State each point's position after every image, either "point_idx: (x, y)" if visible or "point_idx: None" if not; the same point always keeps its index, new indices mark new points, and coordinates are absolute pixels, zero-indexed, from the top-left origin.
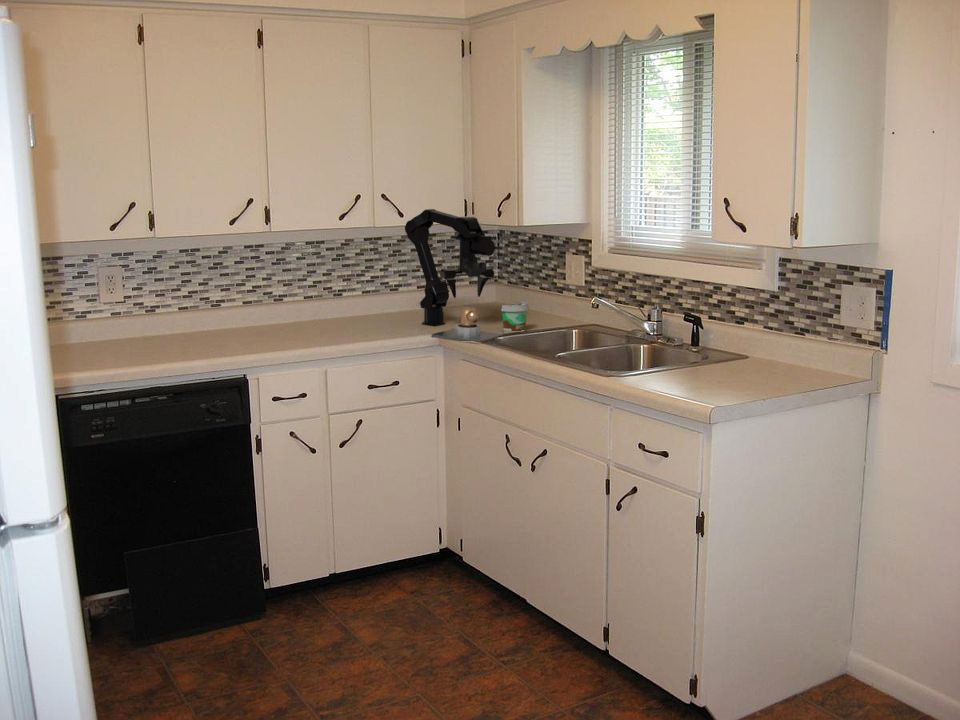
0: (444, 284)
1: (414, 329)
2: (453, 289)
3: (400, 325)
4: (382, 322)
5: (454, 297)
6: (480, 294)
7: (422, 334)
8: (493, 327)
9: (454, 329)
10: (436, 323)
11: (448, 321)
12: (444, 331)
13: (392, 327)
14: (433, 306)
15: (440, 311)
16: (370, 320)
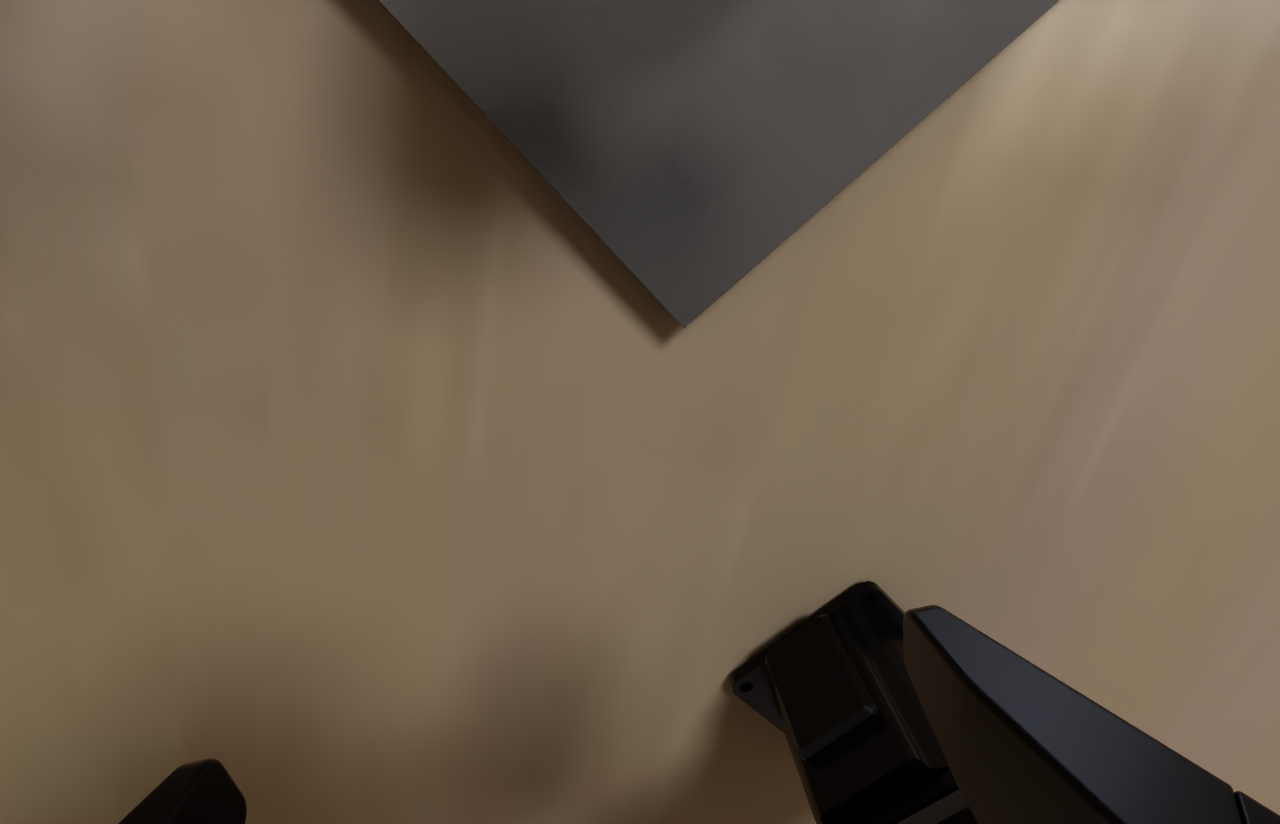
0: None
1: (1121, 443)
2: (1203, 779)
3: (1145, 632)
4: (1212, 744)
5: (940, 613)
6: (128, 817)
7: (1186, 123)
8: (195, 468)
9: (763, 213)
10: (846, 621)
11: (671, 768)
12: (945, 74)
13: (1257, 555)
14: (957, 805)
15: (841, 753)
16: None
